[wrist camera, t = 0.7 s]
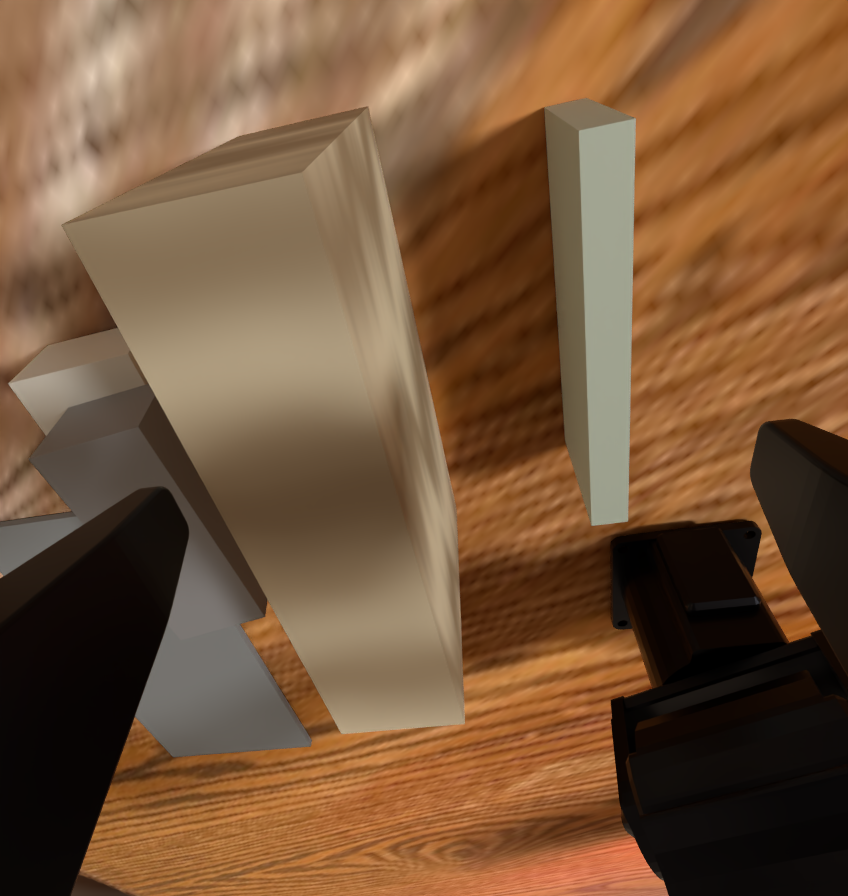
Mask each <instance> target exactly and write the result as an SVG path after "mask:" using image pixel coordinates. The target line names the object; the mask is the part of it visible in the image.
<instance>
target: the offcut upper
mask: <svg viewBox="0 0 848 896" xmlns="http://www.w3.org/2000/svg"><path fill="white" fill-rule="evenodd" d="M29 461H30V462H31V463H32V464H33V465H34V466H35V468H36V469H37V470H38V471H39V472H40V474H41V475H42V476H43V477H44V478H45V480H46V481H47V482H48V483H49V484H50V486H51V487H52V488H53V489H54V490H55V491H56V493H57V494H58V495H59V496H60V497H61V499H62V500H63V501H64V502H65V503H66V505H67V506H68V507H69V508H70V509H71V510H72V512H73V513H74V514H75V515H76V516H77V518H78V519H79V520H80V521H81V522H82V524H85V523H86V522H88V521H90V520H91V519H93V518H94V517H96V516H97V515H99V514H100V513H102V512H103V511H105V510H106V509H108V508H110V507H111V506H113V505H114V504H116V503H117V502H119V501H120V500H122V499H123V498H125V497H126V496H128V495H130V494H131V493H133V492H134V491H136V490H138V489H140V488H147V487H156V486H163V487H166V488H168V489H169V490H170V492H171V493H172V495H173V497H174V499H175V500H176V502H177V504H178V506H179V508H180V510H181V512H182V514H183V515H184V517H185V519H186V521H187V523H188V527H189V540H188V544H187V548H186V552H185V556H184V561H183V565H182V569H181V573H180V577H179V581H178V586H177V590H176V594H175V598H174V602H173V606H172V610H171V614H170V617H169V621H168V626H169V627H170V628H171V629H172V630H173V632H174V633H175V634H176V635H177V636H178V638H179V639H180V640H183V639H187V638H191V637H194V636H198V635H202V634H205V633H209V632H212V631H216V630H220V629H223V628H227V627H230V626H234V625H238V624H241V623H245V622H248V621H252V620H256V619H259V618H263V617H265V614H266V606H267V598H266V596H265V594H264V592H263V590H262V588H261V587H260V585H259V583H258V581H257V579H256V578H255V576H254V574H253V572H252V570H251V568H250V567H249V565H248V563H247V561H246V559H245V558H244V556H243V554H242V552H241V550H240V548H239V547H238V545H237V543H236V541H235V539H234V538H233V536H232V534H231V532H230V530H229V528H228V527H227V525H226V523H225V521H224V519H223V518H222V516H221V514H220V512H219V510H218V509H217V507H216V505H215V503H214V501H213V499H212V498H211V496H210V494H209V492H208V490H207V489H206V487H205V485H204V483H203V481H202V479H201V478H200V476H199V474H198V472H197V470H196V469H195V467H194V465H193V463H192V461H191V459H190V458H189V456H188V454H187V452H186V450H185V449H184V447H183V445H182V443H181V441H180V439H179V438H178V436H177V434H176V432H175V430H174V429H173V427H172V425H171V423H170V421H169V420H168V418H167V416H166V414H165V412H164V410H163V409H162V407H161V405H160V403H159V401H158V400H157V398H156V396H155V394H154V392H153V390H152V389H151V387H150V385H149V384H146V385H143V386H139V387H136V388H133V389H129V390H126V391H123V392H119V393H116V394H113V395H109V396H106V397H102V398H99V399H96V400H92V401H89V402H86V403H82V404H79V405H75V406H72V407H69V408H68V409H67V410H66V411H65V413H64V414H63V415H62V416H61V418H60V419H59V420H58V422H57V423H56V424H55V425H54V427H53V428H52V429H51V431H50V432H49V433H48V434H47V436H46V437H45V438H44V440H43V441H42V442H41V443H40V445H39V446H38V447H37V449H36V450H35V451H34V452H33V454H32V455H31V456H30V458H29Z"/></svg>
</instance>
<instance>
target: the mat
mask: <svg viewBox="0 0 848 896" xmlns="http://www.w3.org/2000/svg"><path fill="white" fill-rule="evenodd" d="M82 525H83V524H82V522H81V521H80V520H79V519H78V518H77V516H76V515H75V514H74V513H73V512H66V513H59V514H52V515H45V516H38V517H31V518H25V519H18V520H11V521H4V522H0V572H1V573H2V574H3V576H5V575H6V574H8V573H9V572H11V571H13V570H14V569H16V568H17V567H19V566H20V565H22V564H23V563H25V562H26V561H28V560H29V559H31V558H33V557H34V556H36V555H37V554H39V553H40V552H42V551H43V550H45V549H46V548H48V547H50V546H51V545H53V544H54V543H56V542H57V541H59V540H60V539H62V538H63V537H65V536H66V535H68V534H70V533H71V532H73V531H74V530H76V529H77V528H79V527H80V526H82ZM135 717H136V718H137V719H138V720H139V721H140V722H141V723H142V724H143V725H144V726H145V728H146V729H147V730H148V731H149V732H150V733H151V734H152V735H153V736H154V737H155V738H156V739H157V740H158V741H159V743H160V744H161V745H162V746H163V747H164V748H165V749H166V750H167V751H168V752H169V753H170V754H171V755H172V756H173V757H182V756H195V755H208V754H221V753H233V752H246V751H259V750H272V749H284V748H297V747H310V746H311V742H312V740H311V738H310V737H309V735H308V734H307V732H306V730H305V729H304V727H303V725H302V724H301V722H300V721H299V719H298V717H297V716H296V714H295V712H294V711H293V709H292V708H291V706H290V704H289V703H288V701H287V700H286V698H285V696H284V695H283V693H282V691H281V690H280V688H279V687H278V685H277V683H276V682H275V680H274V679H273V677H272V675H271V674H270V672H269V670H268V669H267V667H266V666H265V664H264V662H263V661H262V659H261V658H260V656H259V654H258V653H257V651H256V649H255V648H254V646H253V645H252V643H251V641H250V640H249V638H248V637H247V635H246V633H245V632H244V630H243V628H242V627H241V625H240V624H238V625H234V626H230V627H227V628H223V629H220V630H216V631H212V632H209V633H205V634H202V635H198V636H194V637H191V638H187V639H183V640H180V639H179V638H178V636H177V635H176V634H175V633H174V632H173V630H172V629H171V628H170V627H169V626H168V624H167V627H166V630H165V633H164V636H163V639H162V642H161V645H160V648H159V650H158V653H157V656H156V659H155V662H154V664H153V667H152V670H151V673H150V676H149V678H148V681H147V684H146V687H145V690H144V692H143V695H142V698H141V701H140V704H139V706H138V709H137V712H136V715H135Z"/></svg>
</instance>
